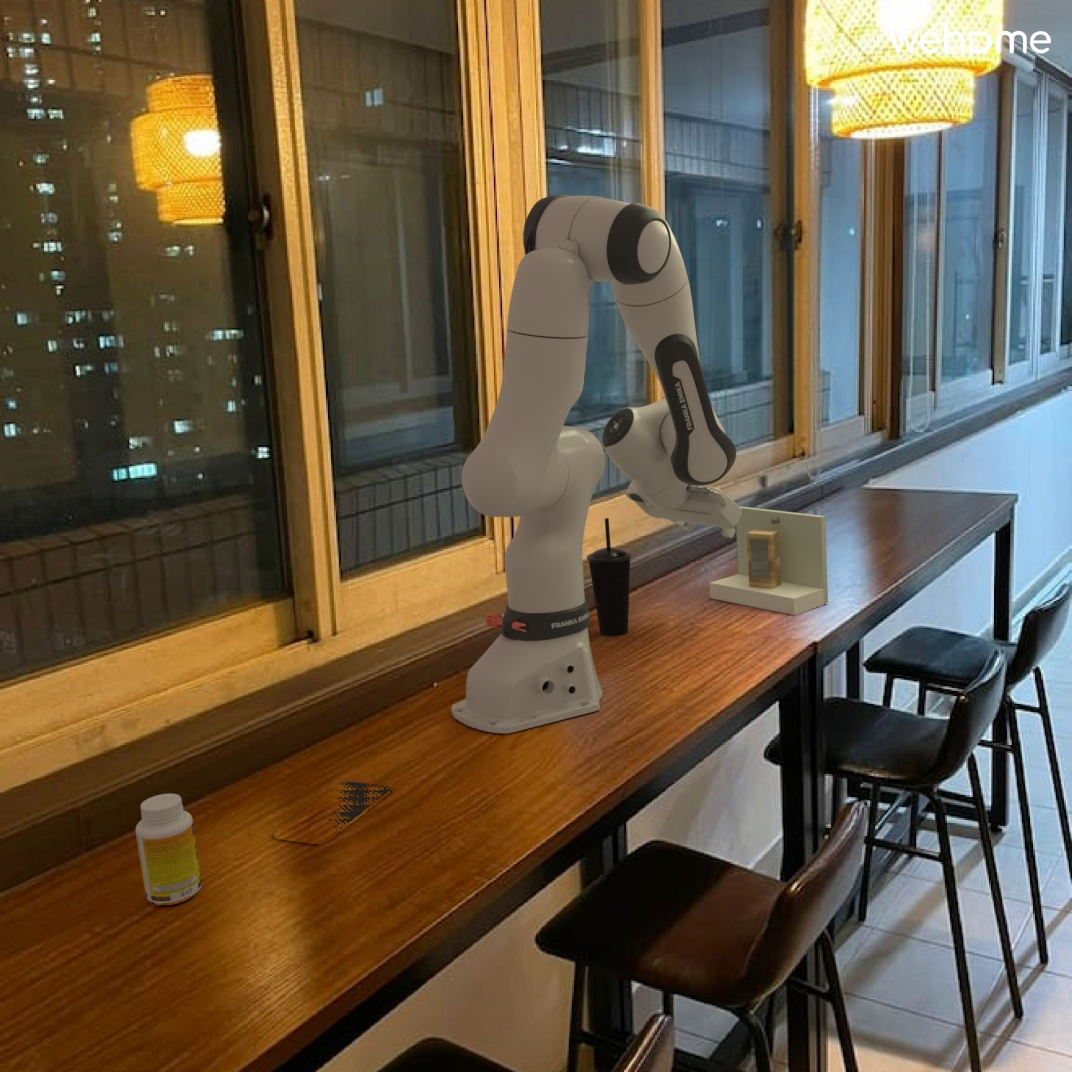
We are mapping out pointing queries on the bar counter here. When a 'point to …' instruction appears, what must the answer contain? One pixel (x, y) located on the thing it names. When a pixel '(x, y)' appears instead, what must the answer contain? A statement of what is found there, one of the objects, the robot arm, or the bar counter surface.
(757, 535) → the small box
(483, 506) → the robot arm
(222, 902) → the bar counter surface
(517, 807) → the bar counter surface
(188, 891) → the supplement bottle
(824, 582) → the cream l-shaped bookend
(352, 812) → the phone
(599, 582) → the drinking cup
